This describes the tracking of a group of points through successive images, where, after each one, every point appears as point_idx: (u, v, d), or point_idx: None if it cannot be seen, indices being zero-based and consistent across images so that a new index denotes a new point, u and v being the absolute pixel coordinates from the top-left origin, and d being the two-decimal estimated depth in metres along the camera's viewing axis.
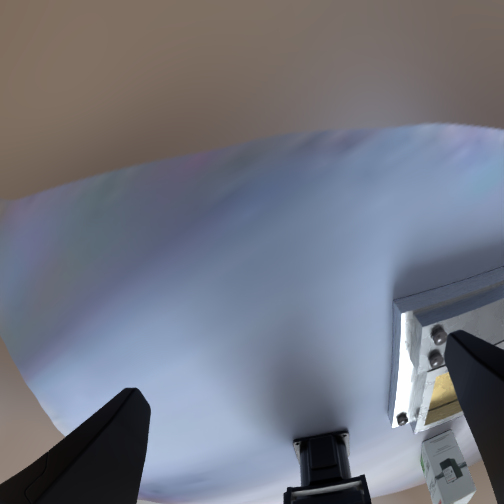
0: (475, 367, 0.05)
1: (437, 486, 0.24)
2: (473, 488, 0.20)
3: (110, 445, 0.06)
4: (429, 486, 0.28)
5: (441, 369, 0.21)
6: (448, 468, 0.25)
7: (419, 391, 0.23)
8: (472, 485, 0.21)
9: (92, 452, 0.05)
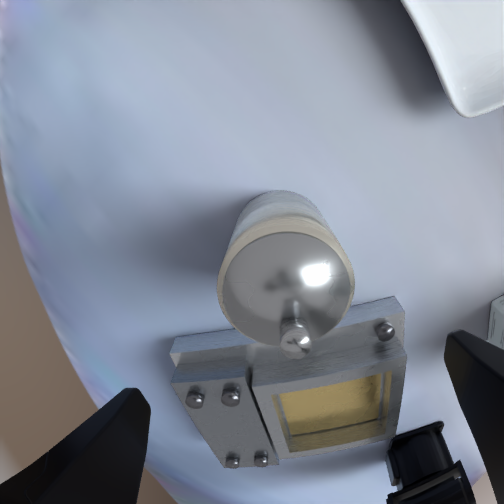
0: (475, 367, 0.05)
1: None
2: None
3: (110, 445, 0.06)
4: None
5: (280, 451, 0.21)
6: None
7: None
8: None
9: (92, 452, 0.05)
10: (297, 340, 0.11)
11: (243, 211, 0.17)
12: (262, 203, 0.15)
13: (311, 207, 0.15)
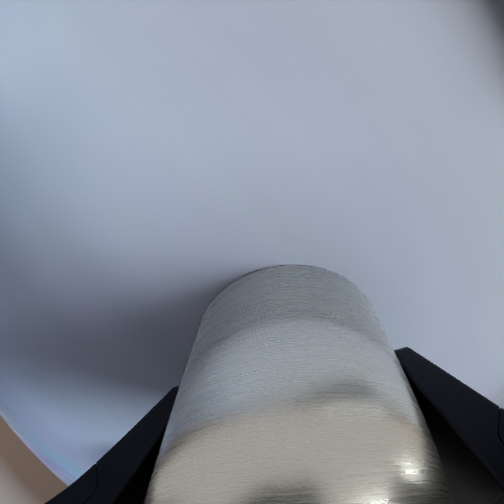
0: (414, 390, 0.05)
1: None
2: None
3: None
4: None
5: None
6: None
7: None
8: None
9: (150, 460, 0.05)
10: None
11: (207, 319, 0.07)
12: (246, 330, 0.06)
13: (371, 333, 0.06)
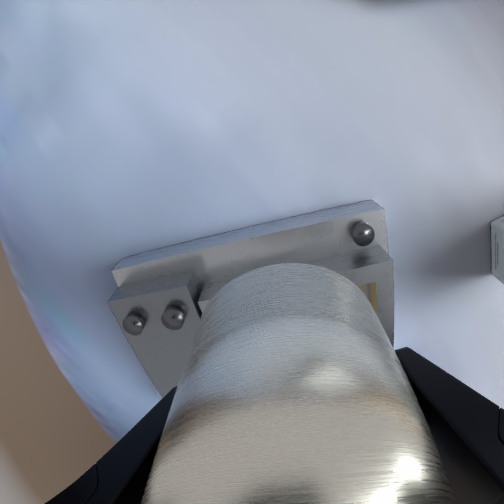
0: (413, 390, 0.05)
1: None
2: None
3: None
4: None
5: None
6: None
7: None
8: None
9: (150, 460, 0.05)
10: None
11: (206, 317, 0.07)
12: (245, 328, 0.06)
13: (370, 332, 0.06)
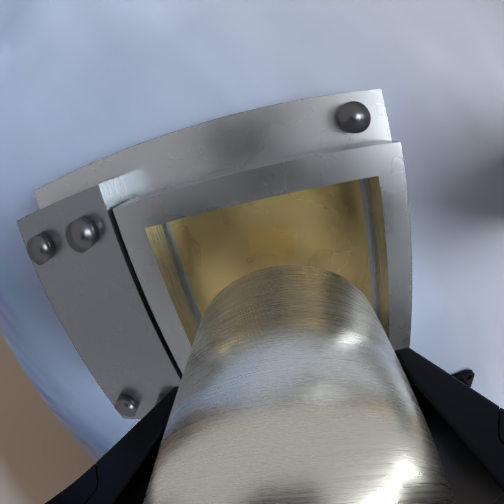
0: (413, 390, 0.05)
1: None
2: None
3: None
4: None
5: None
6: None
7: None
8: None
9: (150, 460, 0.05)
10: None
11: (207, 320, 0.07)
12: (246, 331, 0.06)
13: (371, 334, 0.06)
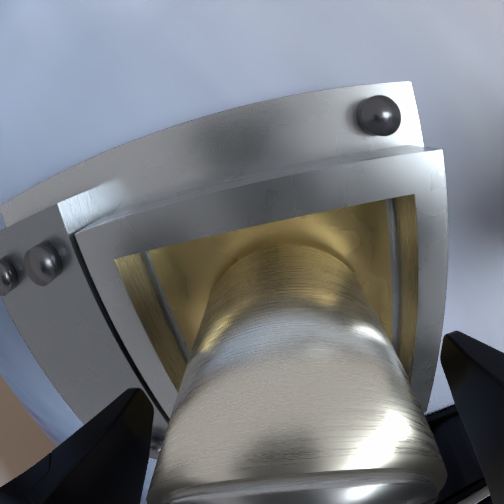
0: (471, 369, 0.05)
1: None
2: None
3: (114, 445, 0.06)
4: None
5: None
6: None
7: None
8: None
9: (96, 453, 0.05)
10: None
11: (216, 291, 0.09)
12: (251, 292, 0.07)
13: (355, 297, 0.07)
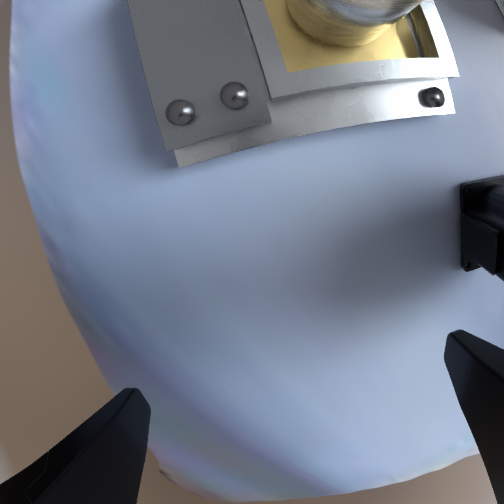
0: (475, 367, 0.05)
1: None
2: None
3: (110, 445, 0.06)
4: None
5: (269, 68, 0.12)
6: None
7: (343, 86, 0.12)
8: None
9: (92, 452, 0.05)
10: None
11: None
12: None
13: None
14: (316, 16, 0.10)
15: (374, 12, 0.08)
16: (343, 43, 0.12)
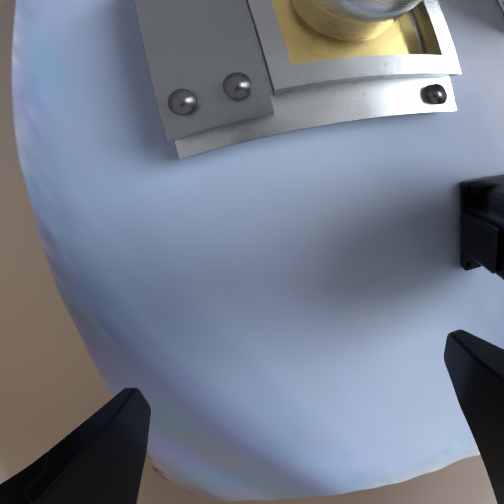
0: (475, 367, 0.05)
1: None
2: None
3: (110, 445, 0.06)
4: None
5: (272, 60, 0.11)
6: None
7: (346, 80, 0.12)
8: None
9: (92, 452, 0.05)
10: None
11: None
12: None
13: None
14: (321, 10, 0.10)
15: (379, 6, 0.07)
16: (346, 38, 0.12)
